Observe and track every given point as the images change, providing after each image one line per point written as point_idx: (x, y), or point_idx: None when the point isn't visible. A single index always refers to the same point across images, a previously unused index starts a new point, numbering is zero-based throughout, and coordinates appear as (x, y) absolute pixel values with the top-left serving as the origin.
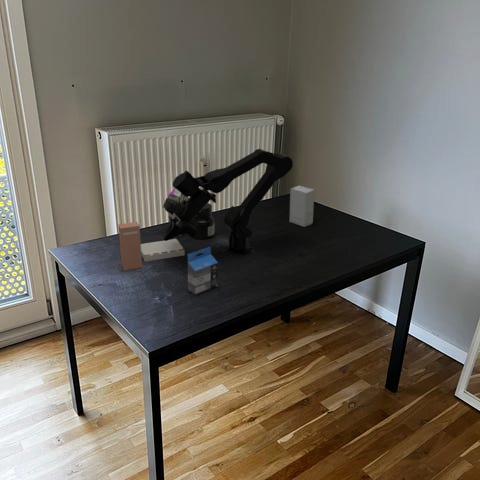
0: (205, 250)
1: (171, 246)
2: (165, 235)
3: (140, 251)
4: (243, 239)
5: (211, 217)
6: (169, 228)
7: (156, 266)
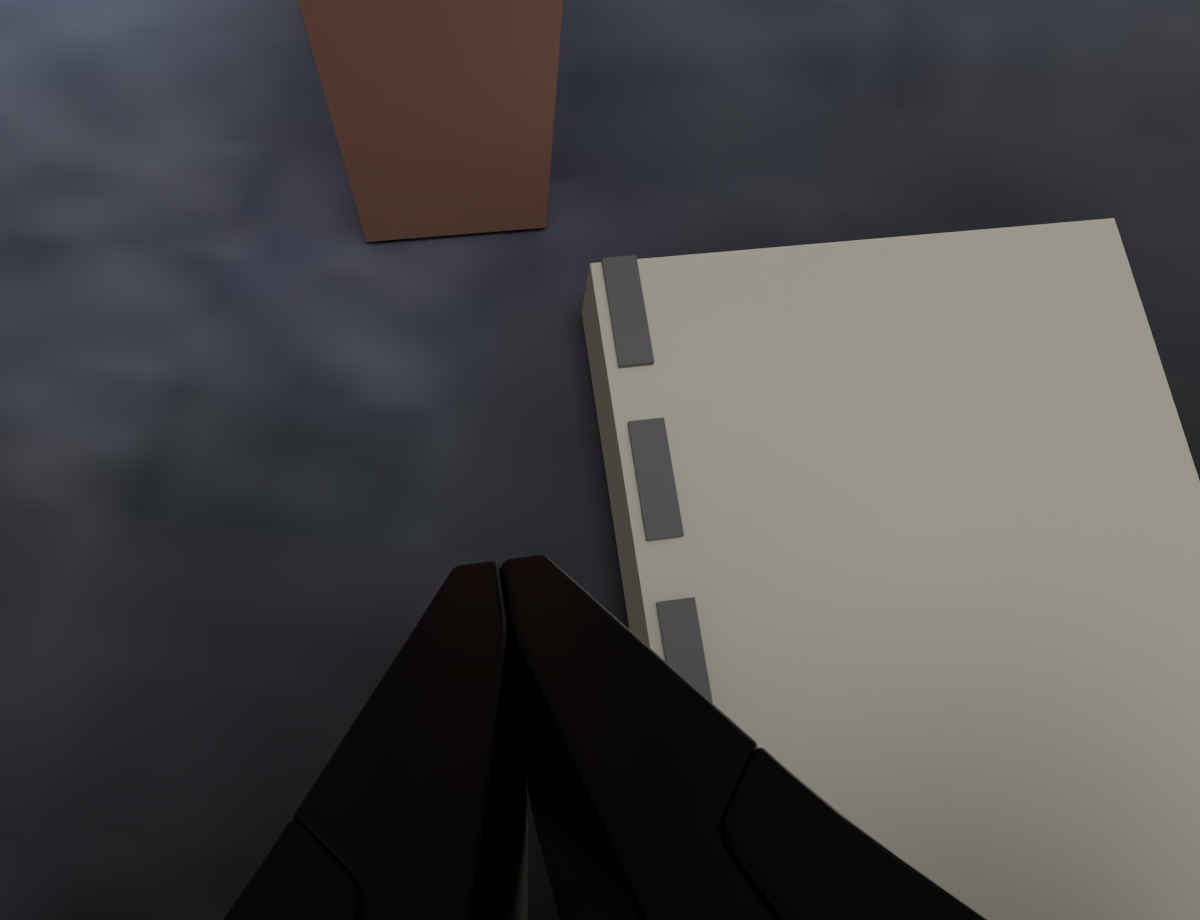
0: None
1: (975, 869)
2: (520, 627)
3: (304, 6)
4: None
5: None
6: (625, 879)
7: (351, 477)
